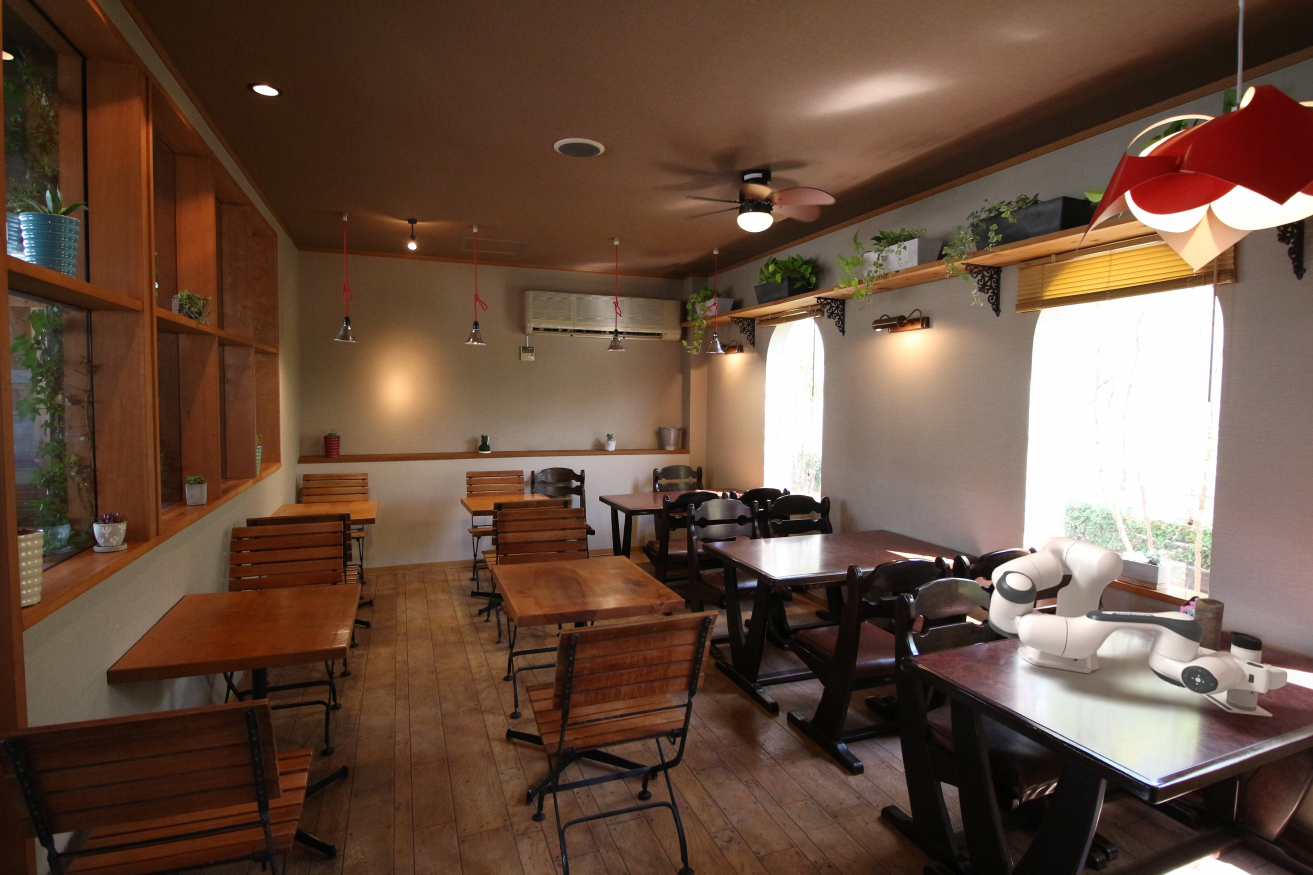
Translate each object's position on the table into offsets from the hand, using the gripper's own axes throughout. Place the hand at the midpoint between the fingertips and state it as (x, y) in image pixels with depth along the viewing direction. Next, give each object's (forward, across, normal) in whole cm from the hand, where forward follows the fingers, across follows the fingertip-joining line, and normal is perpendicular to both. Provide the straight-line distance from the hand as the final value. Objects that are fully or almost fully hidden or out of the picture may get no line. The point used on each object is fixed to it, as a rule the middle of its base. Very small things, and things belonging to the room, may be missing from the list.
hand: (1246, 660), depth 182 cm
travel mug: (-1, 0, -13) cm, 13 cm away
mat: (+2, -3, -13) cm, 13 cm away
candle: (+34, -21, -13) cm, 43 cm away
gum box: (+58, -32, -13) cm, 67 cm away
